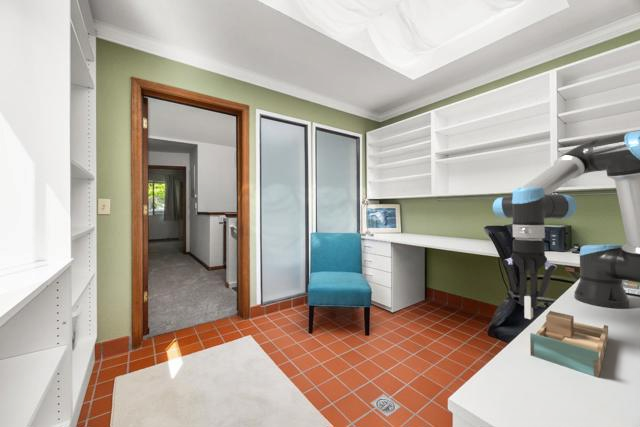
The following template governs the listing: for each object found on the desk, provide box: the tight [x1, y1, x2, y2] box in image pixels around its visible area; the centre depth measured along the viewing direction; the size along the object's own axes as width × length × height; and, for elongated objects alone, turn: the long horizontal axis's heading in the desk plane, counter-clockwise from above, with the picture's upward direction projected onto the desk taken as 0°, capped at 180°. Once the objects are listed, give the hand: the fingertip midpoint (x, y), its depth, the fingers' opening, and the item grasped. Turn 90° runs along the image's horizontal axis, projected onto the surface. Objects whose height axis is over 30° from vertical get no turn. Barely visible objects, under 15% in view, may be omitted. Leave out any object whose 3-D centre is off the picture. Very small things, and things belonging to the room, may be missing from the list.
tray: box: [529, 321, 609, 378], centre depth 71 cm, size 27×12×6 cm, turn 129°
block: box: [545, 310, 575, 338], centre depth 74 cm, size 5×5×4 cm
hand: (528, 317), depth 79 cm, fingers closed
